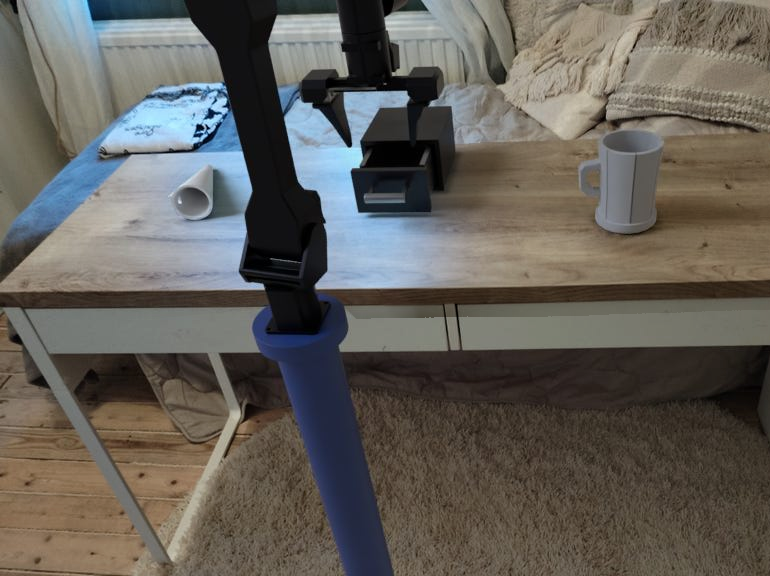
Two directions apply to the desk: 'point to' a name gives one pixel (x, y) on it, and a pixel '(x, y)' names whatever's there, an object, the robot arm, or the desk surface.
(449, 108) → the black drawer box
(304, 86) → the robot arm
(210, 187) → the long cone
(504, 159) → the desk surface
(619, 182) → the cup
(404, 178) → the open drawer with handle
